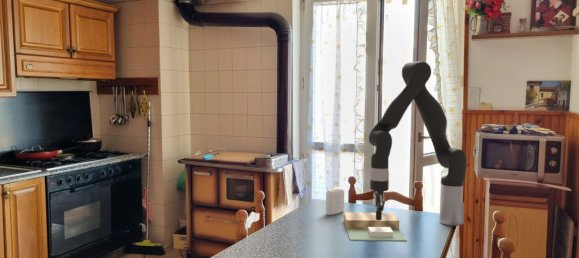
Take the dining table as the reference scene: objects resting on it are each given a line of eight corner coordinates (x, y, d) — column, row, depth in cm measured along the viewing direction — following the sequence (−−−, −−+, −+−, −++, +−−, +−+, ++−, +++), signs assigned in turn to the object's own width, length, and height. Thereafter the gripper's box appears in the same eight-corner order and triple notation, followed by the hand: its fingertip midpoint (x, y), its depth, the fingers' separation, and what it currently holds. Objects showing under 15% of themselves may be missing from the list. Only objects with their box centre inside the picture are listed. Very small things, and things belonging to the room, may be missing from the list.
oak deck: (393, 221, 194) (393, 212, 194) (399, 230, 182) (399, 220, 182) (343, 221, 195) (344, 212, 195) (346, 229, 183) (346, 220, 183)
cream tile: (393, 231, 173) (393, 236, 173) (390, 227, 179) (390, 231, 179) (370, 231, 173) (370, 236, 173) (368, 226, 179) (368, 231, 179)
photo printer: (338, 210, 213) (338, 185, 212) (345, 211, 210) (345, 186, 209) (324, 214, 206) (324, 188, 205) (331, 216, 203) (331, 189, 202)
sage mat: (399, 230, 182) (399, 229, 182) (406, 241, 169) (406, 240, 169) (346, 229, 183) (346, 228, 183) (350, 240, 170) (350, 239, 170)
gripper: (391, 181, 172) (390, 224, 174) (385, 175, 185) (384, 215, 187) (372, 181, 172) (372, 224, 174) (367, 175, 186) (367, 215, 187)
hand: (378, 219), depth 180 cm, fingers closed
